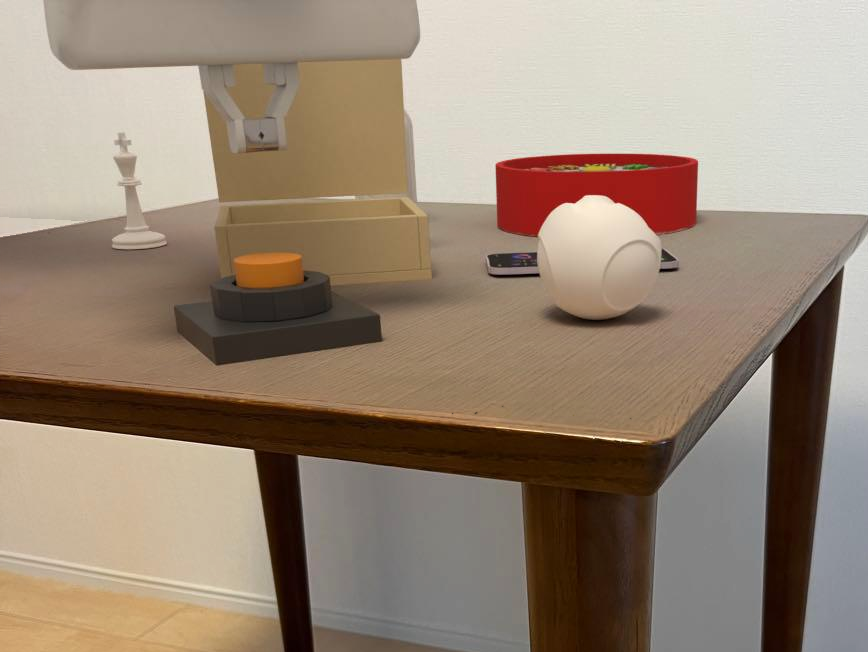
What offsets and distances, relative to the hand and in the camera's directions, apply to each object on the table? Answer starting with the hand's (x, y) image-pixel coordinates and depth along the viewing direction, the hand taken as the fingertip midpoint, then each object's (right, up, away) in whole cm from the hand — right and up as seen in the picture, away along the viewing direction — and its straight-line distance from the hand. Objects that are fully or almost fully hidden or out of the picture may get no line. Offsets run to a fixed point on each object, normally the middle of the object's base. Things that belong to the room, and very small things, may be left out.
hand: (259, 151), depth 63 cm
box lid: (-2, +12, +24) cm, 27 cm away
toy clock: (+22, +9, +47) cm, 53 cm away
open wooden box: (-1, -1, +25) cm, 25 cm away
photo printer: (0, +11, +51) cm, 52 cm away
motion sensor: (+20, -8, +7) cm, 23 cm away
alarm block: (0, -10, +4) cm, 11 cm away
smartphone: (+20, 0, +25) cm, 32 cm away
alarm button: (0, -7, +3) cm, 8 cm away
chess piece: (-22, +5, +40) cm, 46 cm away
